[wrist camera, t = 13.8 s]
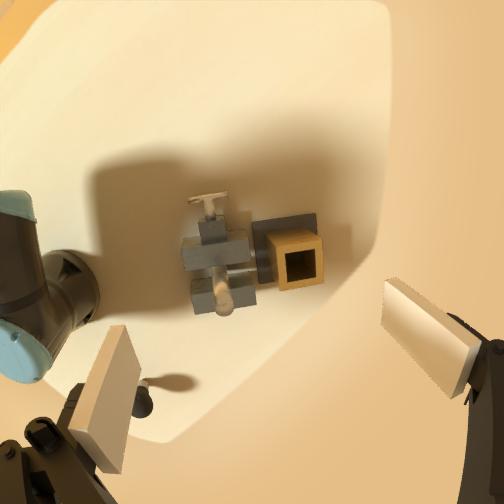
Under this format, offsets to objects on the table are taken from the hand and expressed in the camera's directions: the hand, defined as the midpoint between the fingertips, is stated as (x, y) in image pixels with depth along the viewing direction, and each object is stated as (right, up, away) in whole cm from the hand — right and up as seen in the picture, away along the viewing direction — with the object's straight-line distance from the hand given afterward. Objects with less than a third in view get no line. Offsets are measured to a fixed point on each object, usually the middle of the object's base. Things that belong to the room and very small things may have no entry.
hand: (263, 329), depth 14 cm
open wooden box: (+5, +4, +38) cm, 38 cm away
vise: (-7, +5, +36) cm, 37 cm away
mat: (+5, +4, +38) cm, 39 cm away
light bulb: (-24, -24, +43) cm, 55 cm away
